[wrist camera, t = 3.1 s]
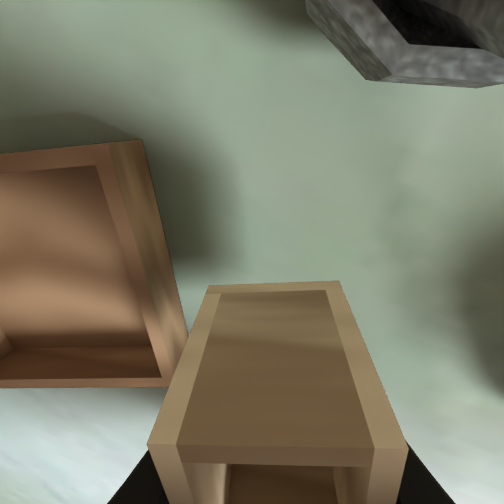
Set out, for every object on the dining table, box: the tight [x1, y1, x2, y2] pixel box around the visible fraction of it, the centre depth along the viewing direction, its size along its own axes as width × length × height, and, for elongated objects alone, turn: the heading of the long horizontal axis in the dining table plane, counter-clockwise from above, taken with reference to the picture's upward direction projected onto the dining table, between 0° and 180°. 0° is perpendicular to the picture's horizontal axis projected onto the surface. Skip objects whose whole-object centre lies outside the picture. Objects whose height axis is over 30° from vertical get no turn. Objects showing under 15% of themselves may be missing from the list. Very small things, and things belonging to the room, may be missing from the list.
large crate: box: [0, 139, 189, 388], centre depth 17 cm, size 15×15×4 cm
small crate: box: [147, 281, 409, 504], centre depth 10 cm, size 7×5×6 cm
